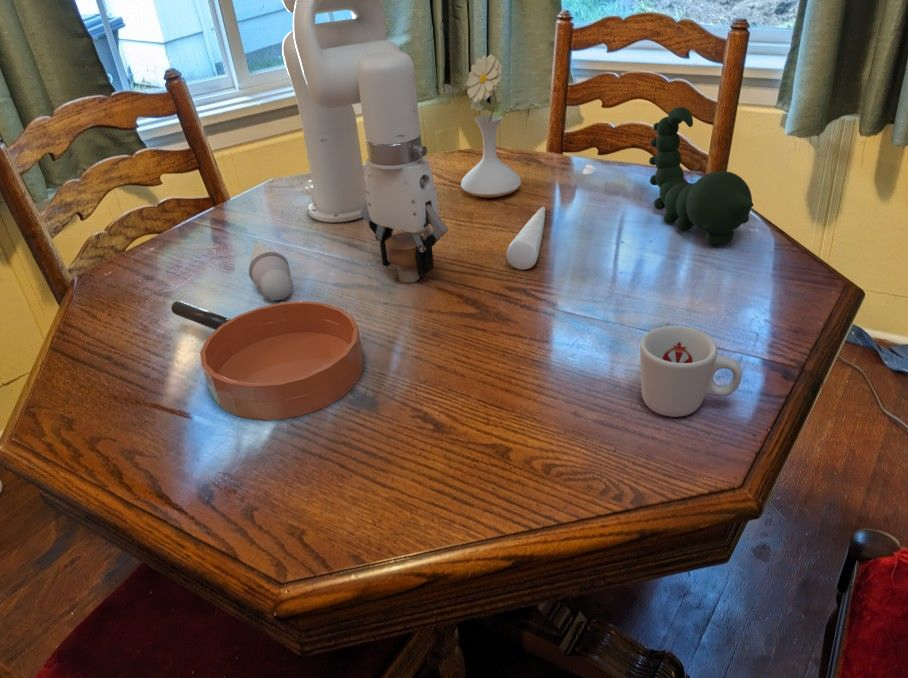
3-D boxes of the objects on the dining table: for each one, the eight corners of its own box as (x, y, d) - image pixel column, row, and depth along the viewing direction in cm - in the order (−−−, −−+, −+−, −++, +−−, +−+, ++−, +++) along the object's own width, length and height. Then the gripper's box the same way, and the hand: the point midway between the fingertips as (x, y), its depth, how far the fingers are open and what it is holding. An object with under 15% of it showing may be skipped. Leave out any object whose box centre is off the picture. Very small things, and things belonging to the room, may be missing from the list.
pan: (179, 389, 91) (167, 356, 89) (288, 320, 104) (281, 289, 101) (287, 439, 82) (278, 404, 79) (393, 356, 94) (389, 323, 92)
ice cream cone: (262, 263, 119) (287, 315, 110) (228, 250, 115) (251, 303, 106) (281, 232, 117) (308, 283, 108) (247, 218, 113) (272, 269, 103)
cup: (735, 391, 84) (747, 332, 79) (732, 434, 78) (745, 373, 73) (639, 378, 87) (645, 320, 82) (630, 419, 81) (635, 359, 76)
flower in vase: (455, 185, 143) (445, 48, 128) (511, 177, 144) (507, 40, 130) (472, 210, 132) (464, 63, 118) (532, 200, 134) (531, 55, 120)
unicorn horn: (564, 210, 129) (565, 184, 126) (536, 272, 111) (536, 243, 108) (538, 209, 130) (538, 183, 128) (506, 270, 112) (505, 241, 109)
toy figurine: (633, 218, 128) (718, 265, 108) (637, 106, 119) (731, 133, 98) (680, 209, 130) (773, 253, 110) (688, 98, 121) (790, 123, 100)
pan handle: (170, 315, 101) (166, 303, 100) (182, 309, 102) (178, 297, 101) (228, 338, 95) (224, 325, 94) (240, 331, 96) (236, 318, 95)
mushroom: (381, 281, 112) (376, 244, 108) (405, 265, 116) (401, 228, 112) (412, 290, 109) (408, 252, 105) (436, 274, 113) (433, 236, 109)
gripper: (461, 149, 99) (468, 269, 109) (364, 134, 107) (380, 246, 118) (428, 167, 94) (439, 290, 104) (330, 150, 103) (349, 265, 113)
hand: (408, 266), depth 111 cm, fingers closed on mushroom, 6 cm apart
